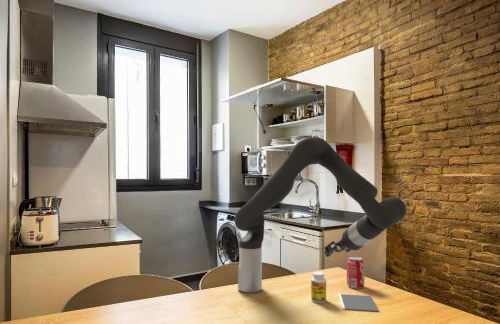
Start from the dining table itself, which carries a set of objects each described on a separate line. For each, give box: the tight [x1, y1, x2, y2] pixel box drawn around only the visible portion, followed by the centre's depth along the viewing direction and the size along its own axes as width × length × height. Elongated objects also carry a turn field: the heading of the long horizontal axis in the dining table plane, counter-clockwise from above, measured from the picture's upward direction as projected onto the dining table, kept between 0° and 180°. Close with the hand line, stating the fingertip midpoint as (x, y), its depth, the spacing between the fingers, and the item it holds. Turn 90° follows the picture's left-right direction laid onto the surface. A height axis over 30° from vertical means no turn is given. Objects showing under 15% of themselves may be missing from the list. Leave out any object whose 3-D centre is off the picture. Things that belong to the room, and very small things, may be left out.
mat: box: [337, 292, 380, 313], centre depth 124 cm, size 12×14×1 cm
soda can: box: [346, 255, 365, 290], centre depth 142 cm, size 7×7×12 cm
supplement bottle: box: [310, 271, 327, 304], centre depth 126 cm, size 6×6×10 cm
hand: (336, 251), depth 123 cm, fingers open, 8 cm apart
